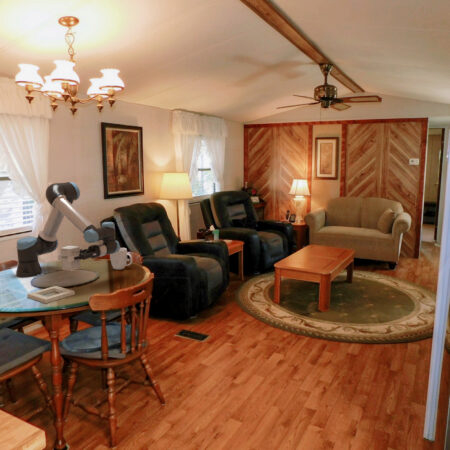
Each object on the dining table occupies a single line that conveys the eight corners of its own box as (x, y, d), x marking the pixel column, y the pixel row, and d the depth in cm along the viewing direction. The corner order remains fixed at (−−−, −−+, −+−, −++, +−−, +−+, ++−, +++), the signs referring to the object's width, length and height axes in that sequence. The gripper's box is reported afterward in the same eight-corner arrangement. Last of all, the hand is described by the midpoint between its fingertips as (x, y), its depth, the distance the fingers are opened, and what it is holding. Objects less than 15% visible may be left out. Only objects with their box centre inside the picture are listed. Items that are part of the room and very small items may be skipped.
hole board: (27, 297, 225) (27, 293, 224) (56, 289, 239) (55, 285, 238) (45, 303, 215) (45, 299, 215) (74, 294, 229) (74, 291, 229)
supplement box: (61, 270, 234) (59, 247, 232) (71, 266, 241) (69, 245, 239) (71, 271, 231) (70, 248, 229) (81, 268, 238) (79, 246, 236)
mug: (135, 266, 286) (134, 248, 284) (129, 271, 275) (128, 251, 273) (114, 266, 288) (113, 247, 286) (107, 270, 277) (106, 250, 275)
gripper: (109, 259, 245) (75, 267, 226) (85, 254, 256) (52, 262, 238) (108, 246, 243) (74, 254, 225) (84, 242, 255) (51, 249, 237)
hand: (63, 258), depth 231 cm, fingers closed on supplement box, 8 cm apart
